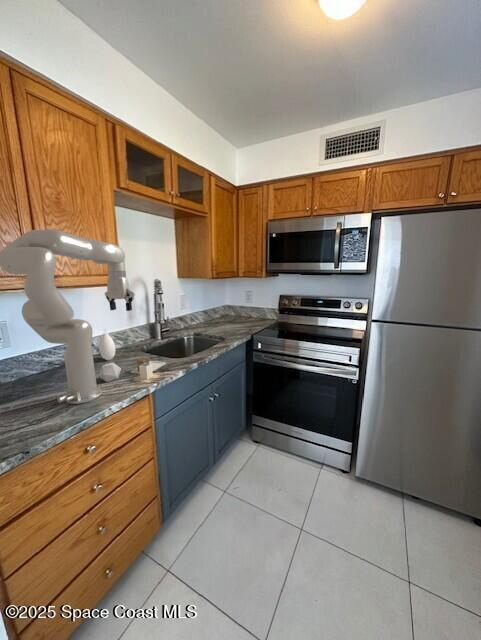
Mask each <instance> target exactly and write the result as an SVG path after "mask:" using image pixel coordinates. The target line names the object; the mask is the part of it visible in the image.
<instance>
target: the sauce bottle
mask: <svg viewBox="0 0 481 640" xmlns="http://www.w3.org/2000/svg"><path fill="white" fill-rule="evenodd" d="M98 347H99V353H100V356H101V357H102V358H103V360H104V359H105V360H106V361H110V360H111V361H112V360H113V358H114V356H115V354H116V345H115V342H114V340H113V338H112V337H111V336H110V335H109V332H107V331H106V329H104V333H102V336H101V338H100V341H99V346H98Z"/></svg>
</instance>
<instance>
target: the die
mask: <svg viewBox="0 0 481 640" xmlns="http://www.w3.org/2000/svg"><path fill="white" fill-rule="evenodd" d="M121 371H122V368H121V367H120V366H118V365H117V364H116V363H115V362H109V363H106V364H103V365H101V368H100V371H99V375H98V378H99V377H100V378H101V379H102V380H103V381H105V382H106V383H110V382H112V381H114V380H117V379H119V377H120V373H121Z"/></svg>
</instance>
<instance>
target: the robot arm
mask: <svg viewBox="0 0 481 640" xmlns="http://www.w3.org/2000/svg"><path fill="white" fill-rule="evenodd" d="M125 254H126V253H125V251H124V250H123V248H122V247H120V246H119V245H116V244H114V243H110V242H106V241H100V240H95V239H90V238H84V237H81V236H78V235H76V234H75V235H74V234H71V233H69V232H65V231H63V230H59V229H53V228H52V229H51V228H49V229H46V228H45V229H32V230H29V231H26V232H25V233H23V234H22V235H20V236H19V237H17V238H16V239H14V240H13V241H12V242H10V243H9V244H7V245H6V246H4V247H3V248H2V249H1V250H0V268H1V270H3V271H4V272H6V273H8V274H11V275H26V277H25V282H24V287H23V289H24V294H25V296H26V298H27V299H28V300H27V301H25V302H24V303H23V304H22V307H21V314H22V315H21V316H22V318H23V320H24V321H25V323H26V324H27V325H28V326H29V327H30V328H31V329H32V330H33V331H34V332H35V333H36V334H37V335H39V336H40V338H42V340H44V341H45V342H48V343H50V344H59V345H62V344H63V345H67V347H66V348H65V351H64V354H63V360H64V365H65V372H66V378H67V379H66V380H67V385H68V386H67V387H68V389H66V391H65V392H66V393H64V395H62V396H59V397H58V398H57V402H58V403H60V404H61V403H63V402H64V401H65V402H66V403H68V404H69V405H70V404H71V405H76V404H77V405H78V404H79V405H81V404H85V403H88V402H91V401H94V400H96V399H98V398H99V397H100V396H101V395H102V394H103V391H102V388H100V387H98V386H97V378H96V371H95V365H94V364H95V362H94V355H93V345H92V344H93V342H92V339H93V327H92V325H91V324H90V322H89V321H87V320H84V319H79V318H74V316H75V313H74V310H73V307H72V306H71V305H70V303H69V302H68V301H67V299H66V298H65V297H64V296H63V294H62V293H61V292H60V291H59V289H58V288H57V286H56V285H55V281H54V280H55V272H56V271H55V270H56V268H57V260H56V256H61V257H67V258H70V259H71V258H72V259H75V260H78V261H79V260H80V261H92V262H93V263H95V264H98V265H107V275H108V277H107V282H106V283H107V285H106V286H107V287H106V291H105V292H104V296H105V298H106V299H107V302H108V303H109V310H110V311H116V310H117V304H116V301H115V300H121V299H122V300H123V299H124V301H125V311H126V312H129V311H132V310H133V307H132V303H133V302H134V301H133V300H134V299H135V296H136V293H135V292H134V291H131V289H130V284H129V280H128V278H127V273H126V263H125V262H126V261H125V259H126V255H125Z"/></svg>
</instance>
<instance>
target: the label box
mask: <svg viewBox="0 0 481 640" xmlns="http://www.w3.org/2000/svg"><path fill="white" fill-rule="evenodd" d="M139 371H140V374H139V376H140V379H147V380H148V379H149V378H151V377H152V376H153V374H154V373H153V372H154V371H153V370H152V364H147V363H144V364H142V365H140V366H139Z"/></svg>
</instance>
